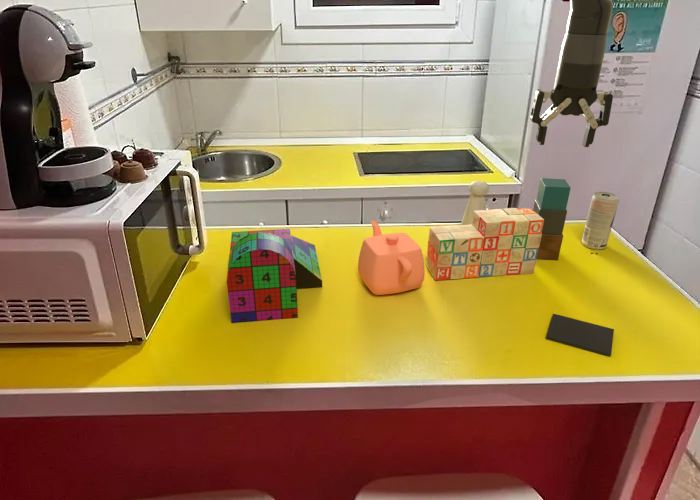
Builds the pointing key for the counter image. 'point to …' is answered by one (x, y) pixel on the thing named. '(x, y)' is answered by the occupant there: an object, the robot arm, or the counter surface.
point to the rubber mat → (581, 334)
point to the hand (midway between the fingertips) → (563, 145)
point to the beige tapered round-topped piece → (475, 200)
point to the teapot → (390, 262)
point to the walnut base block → (549, 246)
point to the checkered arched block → (269, 274)
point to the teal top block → (553, 194)
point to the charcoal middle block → (551, 219)
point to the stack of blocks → (486, 245)
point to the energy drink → (600, 220)
